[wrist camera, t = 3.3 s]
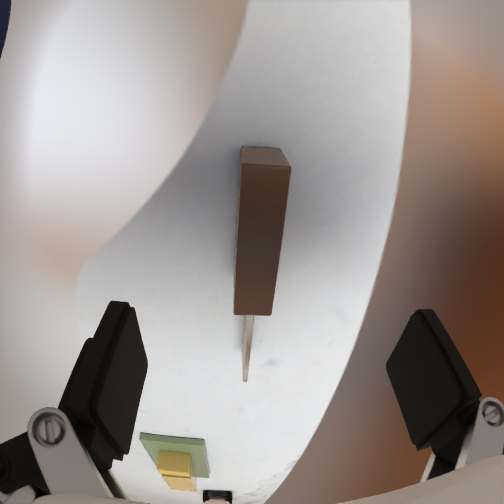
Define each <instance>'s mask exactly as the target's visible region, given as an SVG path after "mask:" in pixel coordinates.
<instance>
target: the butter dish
mask: <svg viewBox="0 0 504 504" xmlns="http://www.w3.org/2000/svg"><path fill="white" fill-rule="evenodd" d="M139 439H140V441H141V443H142V444H143V446H144V448H145V449H146V451H147V452H148V454H149V456H150V457H151V459H152V460H153V462H154V463H155V465H156V466H157V463H158V455H159V450H163V451H171V452H181V453H189V454H190V458H191V460H190V476H189V477H188V476H177V475H168V474H162V477H163V479H164V480H165V481H166V483H167V484H168V486H169V487H170V488H171V489H174V490H184V491H196V477H201V478H209V469H208V463H207V457H206V451H205V445H204V440H203V439H192V438H180V437H170V436H161V435H153V434H145V433H140V438H139Z"/></svg>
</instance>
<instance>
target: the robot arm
mask: <svg viewBox="0 0 504 504" xmlns="http://www.w3.org/2000/svg"><path fill="white" fill-rule="evenodd" d="M147 368H148V361H147V357H146V353H145V349H144V345H143V341H142V337H141V333H140V329H139V325H138V321H137V316H136V312H135V308H134V307H130V305H129V303H128V302H120V301H110V303H109V304H108V307H107V309H106V311H105V313H104V315H103V317H102V319H101V321H100V324H99V326H98V328H97V330H96V332H95V335H94V337H93V338H88V339H87V340H86V342H85V343H84V345H83V348H82V350H81V352H80V355H79V357H78V359H77V361H76V364H75V366H74V368H73V371H72V373H71V375H70V378H69V380H68V383H67V385H66V388H65V390H64V393H63V396H62V398H61V401H60V403H59V406H58V409H56V408H52V407H46V408H42V409H40V410H38V411H37V412H35V413H34V414H33V415H32V416H31V418H30V420H29V422H28V427H27V432H25V433H23V434H21V435H19V436H17V437H14V438H13V439H10V440H8V441H6V442H4V443H2V444H0V504H149V503H143V502H137V501H131V500H129V498H128V497H127V495H126V494H125V492H124V491H123V489H122V488H121V486H120V485H119V483H118V482H117V480H116V478H115V477H114V475H113V474H112V472H111V470H110V469H111V467H112V462H113V459H116V460H120V461H122V460H123V455H124V454H126V455H127V454H128V453H129V450H130V445H131V440H132V435H133V430H134V426H135V421H136V416H137V412H138V407H139V403H140V398H141V394H142V390H143V385H144V381H145V377H146V373H147ZM386 370H387V373H388V376H389V379H390V381H391V384H392V387H393V389H394V392H395V395H396V398H397V400H398V403H399V406H400V408H401V412H402V414H403V417H404V420H405V423H406V426H407V429H408V432H409V435H410V438H411V441H412V443H413V444H414V445H416V448H417V451H418V450H422V449H425V448H428V447H430V446H431V448H432V453H431V456H430V458H429V461H428V463H427V466H426V468H425V471H424V473H423V475H422V478H421V480H420V483H418V484H415V485H412V486H409V487H405V488H402V489H399V490H395V491H391V492H388V493H384V494H380V495H376V496H371V497H367V498H363V499H358V500H353V501H348V502H342V503H337V504H504V405H503V404H502V403H501V402H500V401H499V400H498V399H496V398H493V397H487V398H485V399H483V400H482V401H481V402H480V401H479V398H480V397H481V396H482V394H481V392H480V390H479V388H478V386H477V384H476V382H475V381H474V379H473V377H472V375H471V373H470V371H469V369H468V368H467V366H466V364H465V362H464V360H463V358H462V357H461V355H460V353H459V351H458V350H457V348H456V346H455V344H454V343H453V341H452V339H451V338H450V336H449V334H448V333H447V331H446V329H445V328H444V326H443V325H442V323H441V321H440V320H439V319H438V317H437V315H436V313H435V312H434V311H433V310H432V309H419V310H417V311H416V312H415V313H414V314H413V315H412V316H411V317H410V320H409V321H408V323H407V325H406V328H405V329H404V331H403V333H402V335H401V337H400V339H399V341H398V343H397V345H396V347H395V348H394V350H393V352H392V354H391V356H390V358H389V359H388V361H387V365H386Z"/></svg>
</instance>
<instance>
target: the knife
mask: <svg viewBox="0 0 504 504" xmlns="http://www.w3.org/2000/svg"><path fill="white" fill-rule="evenodd" d="M290 174H291V166H290V165H289V163H288V161H287V160H286V158H285V156H284V154H283V153H282V151H281V149H279V148H266V147H250V146H241V154H240V170H239V187H238V205H237V223H236V243H235V263H234V315H245V318H244V332H243V345H242V367H243V382H247V378H248V369H249V360H250V351H251V341H252V332H253V322H254V315H263V316H270V315H271V313H272V307H273V300H274V293H275V286H276V279H277V272H278V265H279V258H280V251H281V244H282V236H283V229H284V221H285V214H286V206H287V198H288V190H289V182H290Z"/></svg>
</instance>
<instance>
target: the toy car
mask: <svg viewBox="0 0 504 504" xmlns="http://www.w3.org/2000/svg"><path fill="white" fill-rule="evenodd" d="M209 497H210V496H209V495H208V491H203V502H204V504H232V492H227V497H225V498H226V499H225V498H224V497H221V496H213V498H212V497H210V498H209Z"/></svg>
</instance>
